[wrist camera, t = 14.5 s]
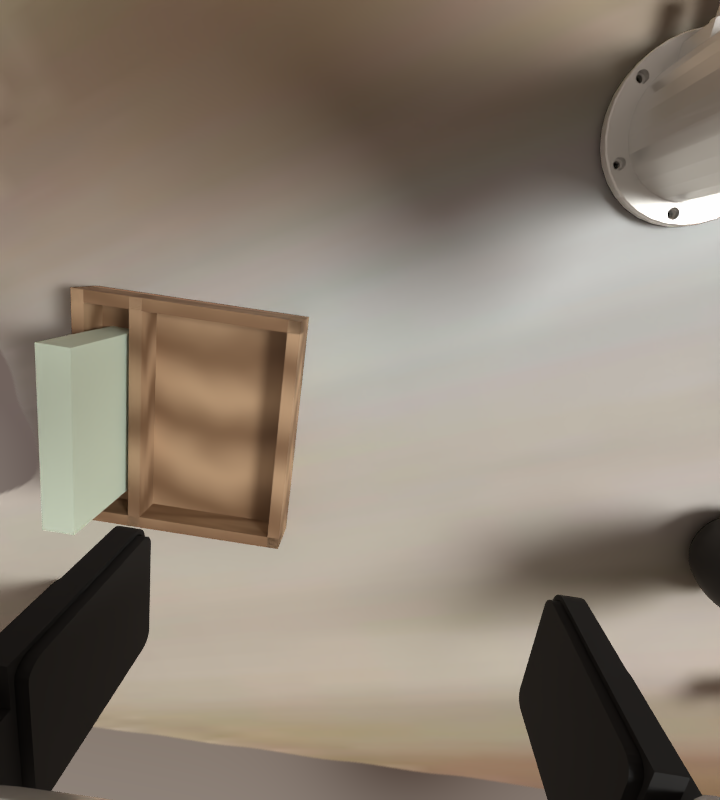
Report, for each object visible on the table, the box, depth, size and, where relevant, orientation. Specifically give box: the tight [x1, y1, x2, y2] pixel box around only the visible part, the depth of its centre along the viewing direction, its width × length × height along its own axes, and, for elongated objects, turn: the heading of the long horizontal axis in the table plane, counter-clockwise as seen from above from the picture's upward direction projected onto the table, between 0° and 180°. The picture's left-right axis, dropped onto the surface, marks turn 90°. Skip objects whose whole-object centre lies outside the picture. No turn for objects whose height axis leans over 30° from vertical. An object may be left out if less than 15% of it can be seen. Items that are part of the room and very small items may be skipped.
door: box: [35, 326, 129, 535], centre depth 37 cm, size 14×2×9 cm, turn 171°
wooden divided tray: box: [66, 286, 309, 549], centre depth 41 cm, size 20×19×4 cm
